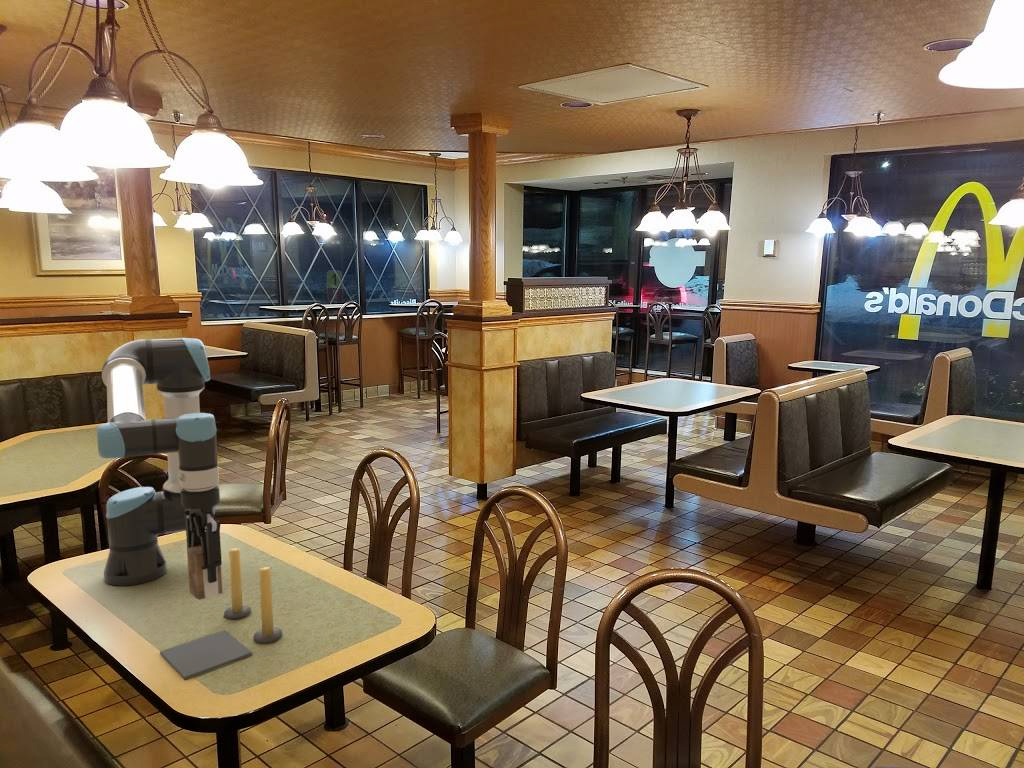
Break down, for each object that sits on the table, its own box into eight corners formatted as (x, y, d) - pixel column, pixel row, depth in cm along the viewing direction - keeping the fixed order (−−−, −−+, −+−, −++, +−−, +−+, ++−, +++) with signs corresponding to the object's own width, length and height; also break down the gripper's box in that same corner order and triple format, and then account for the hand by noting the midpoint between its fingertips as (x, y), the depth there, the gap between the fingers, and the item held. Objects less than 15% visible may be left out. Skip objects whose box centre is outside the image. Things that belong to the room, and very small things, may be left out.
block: (189, 592, 153) (186, 548, 152) (213, 586, 157) (210, 542, 155) (198, 599, 150) (196, 554, 148) (222, 592, 153) (219, 548, 152)
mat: (160, 654, 152) (160, 651, 152) (225, 632, 162) (224, 629, 162) (184, 679, 142) (184, 677, 142) (252, 654, 152) (252, 652, 152)
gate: (220, 613, 171) (216, 549, 169) (244, 605, 175) (241, 543, 173) (261, 646, 156) (257, 576, 153) (286, 637, 160) (283, 569, 158)
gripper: (165, 481, 154) (172, 584, 157) (198, 499, 141) (205, 610, 144) (201, 475, 159) (207, 574, 162) (235, 491, 146) (241, 599, 150)
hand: (206, 591), depth 153 cm, fingers closed on block, 5 cm apart
